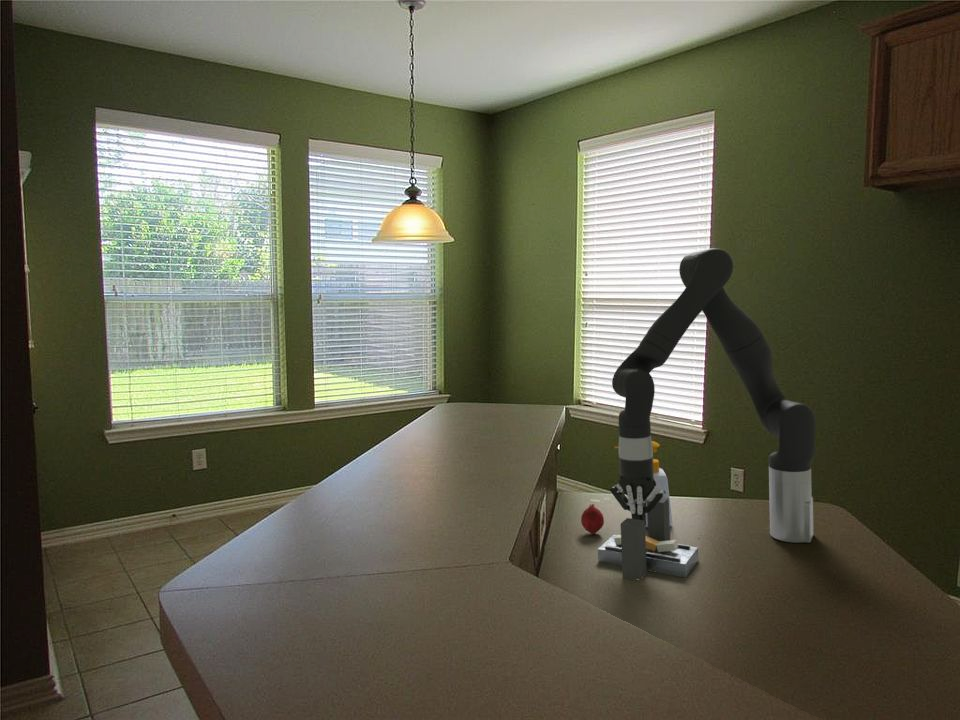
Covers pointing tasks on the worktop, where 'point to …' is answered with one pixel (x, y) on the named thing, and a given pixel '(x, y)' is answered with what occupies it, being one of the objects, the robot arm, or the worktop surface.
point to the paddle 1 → (618, 540)
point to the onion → (592, 519)
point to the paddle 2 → (667, 545)
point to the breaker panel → (654, 558)
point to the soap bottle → (659, 481)
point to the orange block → (651, 543)
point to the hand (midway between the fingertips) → (639, 528)
